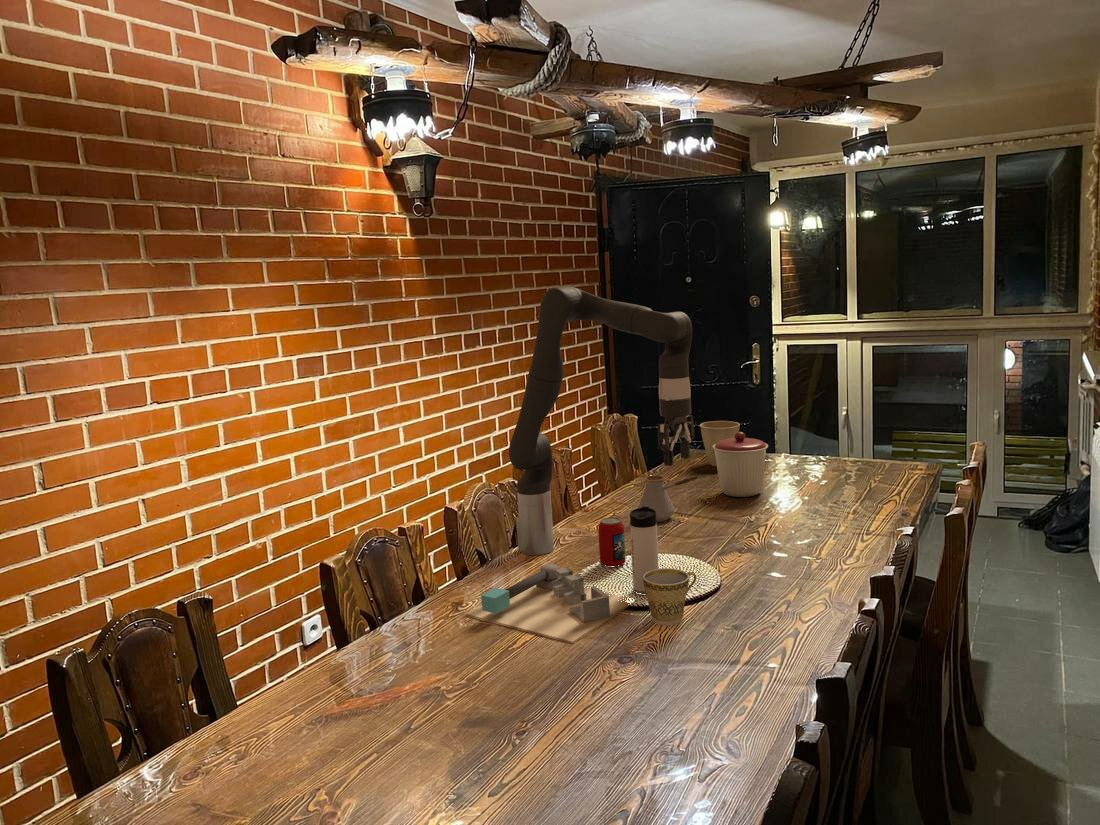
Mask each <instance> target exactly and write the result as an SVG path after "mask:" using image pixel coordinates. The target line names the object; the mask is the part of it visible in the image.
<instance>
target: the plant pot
mask: <svg viewBox="0 0 1100 825" xmlns="http://www.w3.org/2000/svg"><path fill="white" fill-rule="evenodd" d="M740 424H741V423H739V422H735V421H728V420H714V421H713V420H712V421H706V422H702V423H700V424H699V425H700V432H701V438H702V441H703V446H704V449H705V452H706V455H707V458H708V461H709V463H710V465H711V466H712V467H717V463H716V456H715V450H714V449H713V445H714V444H716V443H717V442H719V441H721V440H725V439H731V438H735V437H734V435H735V433H737V432H740Z"/></svg>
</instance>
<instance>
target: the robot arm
mask: <svg viewBox="0 0 1100 825" xmlns="http://www.w3.org/2000/svg"><path fill="white" fill-rule="evenodd" d="M538 314H539V315H538V323H537V331H536V338H535V343H534V348H533V353H532V358H531V362H530V366H529V370H528V374H527V378H526V383H525V390H524V394H523V399H522V402H521V406H520V411H519V415H518V419H517V423H516V425H515V428H514V431H513V434H512V436H511V440H510V442H509V447H508V458H509V461H510V464H511V465H512V466H513V467H514V468H515V469H517V470H520V471H523V470H524V471H523V474H522V476H521V477H520V478H519V479H518V481H517V483H516V492H517V494H516V495H517V504H518V505H517V506H518V508H517V509H518V517H516V520H515V521H516V532H517V534H516V536H517V548H518V549H517V550H518V551H519V552H521V553H522V554H525V555H528V556H529V555H530V556H541V555H542V556H543V555H546V554H549V553H551V552H553V551H554V549H555V546H554V544H555V543H554V528H553V527H554V526H553V512H552V511H553V510H552V499H551V497H552V496H551V483H552V480H553V449H552V445H551V443H550V440H549V438H548V436H546V435H545V434H544V433H542V432H540V431H541V427H542V425H543V423H544V421H545V420H546V418H547V416H548V415H549V413H550V412H551V410H552V409H553V407H554V406H555V404H556V402H557V400H558V398H559V396H560V392H561V387H562V385H563V381H564V375H565V367H564V361H563V356H562V352H561V341H562V336H563V332H564V328H565V325H566V323H572V322H574V321H591V322H597V323H601V324H603V325H606V326H608V327H610V328H612V329H613V330H617V331H620V332H624V333H626V334H627V333H628V334H632V335H639V336H642V337H644V338H647V339H649V340H652V341H655V342H658V343H663V344H665V346H664V347H665V349H664V351H663V352H662V354H660V356H659V358H658V372H659V373H658V374H659V375H658V376H659V380H658V381H659V383H658V400H659V402H658V404H659V415H660V416H661V417H663V418H664V423H658V424H657V449H658V450H662V451H663V465H664V466H666V467H672V466H673V465H674V446H675V444H676V443H677V442H678V440H679V442H680V443H679V444H680V447H679V448H680V458H681V459H689V458H690V457H691V447H690V446H691V445H690V444H691V443H692V440H694V439H695V428H694V427H695V425H694V416H693V415H691V414H692V400H691V399H692V396H691V394H692V393H691V392H692V390H691V382H690V371H689V370H690V369H689V355H690V351H691V346H692V340H693V325H692V320H691V319H690V317H689V316H688V314H686V313H685V312H683V311H672V312H659V311H654V310H653V309H652V308H650V307H647V306H643V305H639V304H635V303H634V304H633V303H630V302H629V303H628V302H623V301H617V300H611V299H607V298H603V297H600V296H597V295H594V294H592V293H589V292H588V291H585V290H582V289H580V288H577V287H575V286H572V285H571V286H568V285H567V286H554V287H551V288H549V289H547V290H546V292H545V293H544V294H543V296H542V298H541V302H540V306H539V312H538Z"/></svg>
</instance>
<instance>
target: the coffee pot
mask: <svg viewBox="0 0 1100 825" xmlns="http://www.w3.org/2000/svg"><path fill="white" fill-rule="evenodd" d="M699 478H700V481H699ZM643 480H644V481H645V483H646V485H645V488H644V491H643V493H642V496H641V498H640V501H639V503H638V507H637V509H638V508H642V506H644V507H649V508H651V509H654V510H655V511H656V522H665V521H667V520H669V519H670V517H672V516H673V515H674V513H675V509H676V508H675V505H674V504H673V502H672V499H671V498H670V496H669V494H668V492H667V490H668V489H670V488H673V487H677V486H681V485H685V484H687V483H689V482H691V481H695V480H697V482H698V483H700V482H702V477H701V476H700V475H695V476H691V477H690V478H689V477H688V478H685V479H681V480H679V481H677V482H674V483H672V484H669V485H666V486H665V485H664V481H665V480H666V477H665V476H663V475H648V476H646V477H644V478H643Z"/></svg>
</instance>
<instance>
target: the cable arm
mask: <svg viewBox="0 0 1100 825" xmlns="http://www.w3.org/2000/svg"><path fill="white" fill-rule="evenodd" d="M539 568H540V571H538V572H536V573H534V574H531V575H530V576H528V577H526V578H525V579H523V580H521V581H519V582H517V583H515V584H513V585H512V586H509V587H508V588H506V589H502V588H497V587H495V588H493V589H490V590H488V591H487V592H485V593H482V594H481V596H480V598H481V605H482V610H483V611H487V612H491V613H495V614H496V613H498V612H500V611H502V610H504V609H505V608H507V607H509V606H510V599H511V598H513V597H515V596H516V595H518V594H520V593H522V592H524V591H526V590H527V589H529V588H531V587H533V586H535V585H537V584H538V583H540V582H542V581H544V580H552V579H556V578H558V577H559V575H557V574H556V573H555V570H557V569H559V565H557V564H556V563H555V564H554V563H547V564H544V565H541V566H540V567H539Z"/></svg>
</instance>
